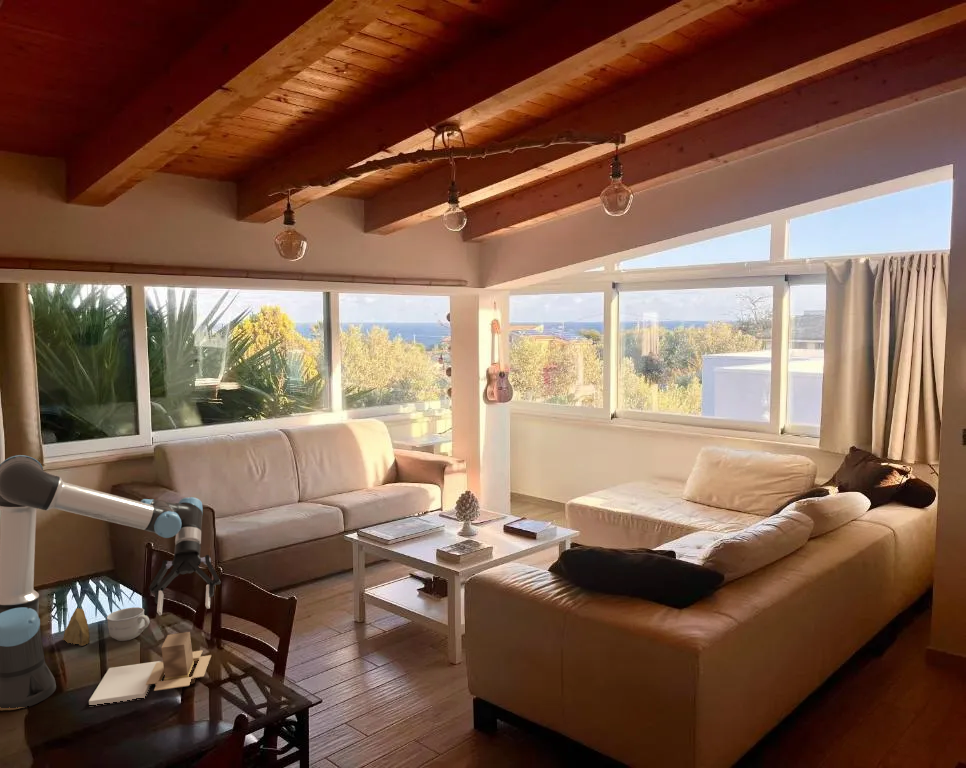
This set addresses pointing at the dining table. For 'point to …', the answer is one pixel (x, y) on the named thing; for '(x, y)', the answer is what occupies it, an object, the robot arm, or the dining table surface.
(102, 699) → the board
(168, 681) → the carton
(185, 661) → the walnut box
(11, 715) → the dining table surface
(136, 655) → the dining table surface
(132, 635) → the teacup
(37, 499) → the robot arm
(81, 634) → the rock
